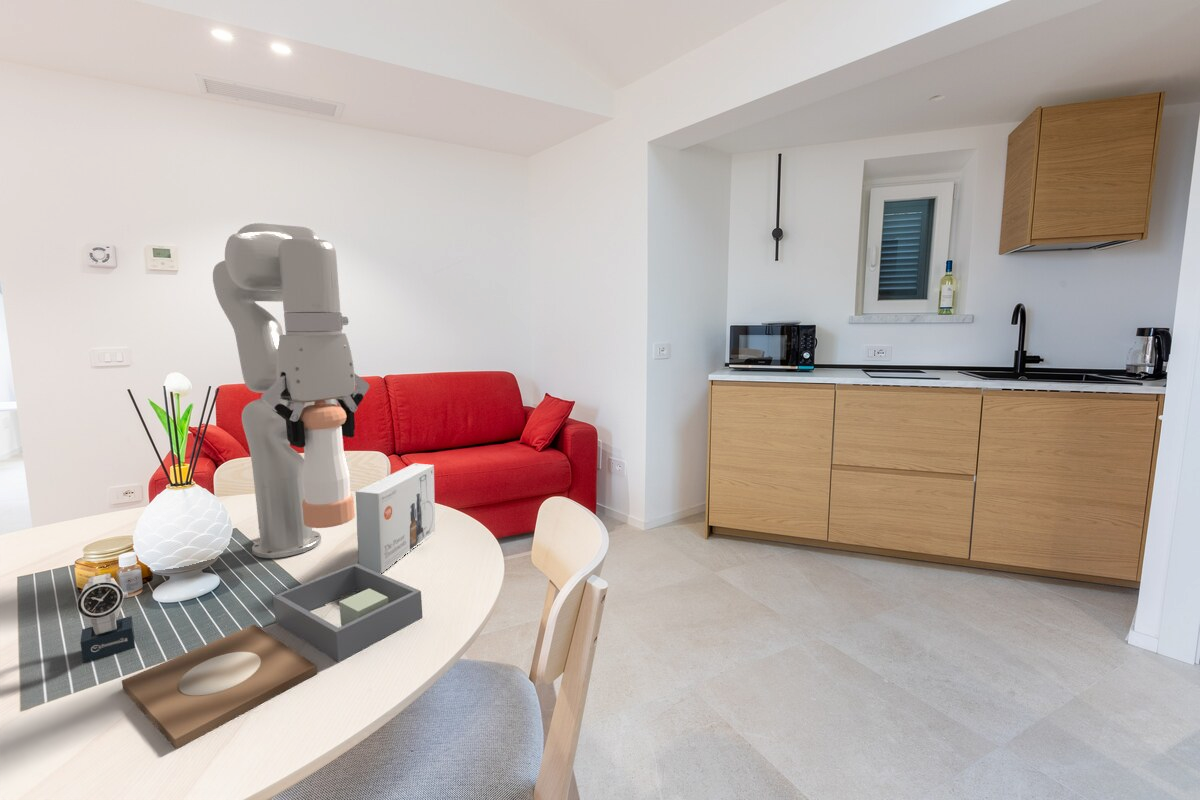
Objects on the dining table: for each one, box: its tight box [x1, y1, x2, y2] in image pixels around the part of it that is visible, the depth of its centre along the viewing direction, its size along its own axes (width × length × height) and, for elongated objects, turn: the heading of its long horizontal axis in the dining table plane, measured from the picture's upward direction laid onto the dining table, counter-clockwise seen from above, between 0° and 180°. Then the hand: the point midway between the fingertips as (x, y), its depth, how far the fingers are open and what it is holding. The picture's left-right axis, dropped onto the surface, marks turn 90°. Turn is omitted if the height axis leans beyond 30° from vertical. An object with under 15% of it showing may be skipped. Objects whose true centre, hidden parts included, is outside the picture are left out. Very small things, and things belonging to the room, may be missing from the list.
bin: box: [272, 563, 423, 663], centre depth 88 cm, size 18×14×4 cm
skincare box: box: [355, 462, 436, 574], centre depth 113 cm, size 21×5×16 cm, turn 168°
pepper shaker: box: [299, 400, 356, 529], centre depth 87 cm, size 7×7×19 cm
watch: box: [76, 572, 136, 664], centre depth 81 cm, size 6×8×11 cm
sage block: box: [338, 588, 389, 627], centre depth 85 cm, size 5×5×5 cm
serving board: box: [121, 624, 319, 750], centre depth 74 cm, size 18×16×1 cm
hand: (323, 440), depth 86 cm, fingers closed on pepper shaker, 7 cm apart
